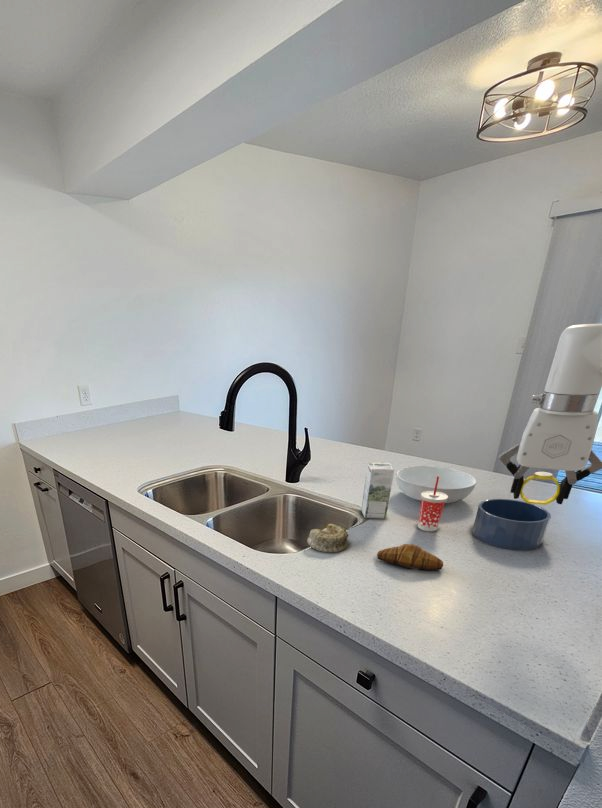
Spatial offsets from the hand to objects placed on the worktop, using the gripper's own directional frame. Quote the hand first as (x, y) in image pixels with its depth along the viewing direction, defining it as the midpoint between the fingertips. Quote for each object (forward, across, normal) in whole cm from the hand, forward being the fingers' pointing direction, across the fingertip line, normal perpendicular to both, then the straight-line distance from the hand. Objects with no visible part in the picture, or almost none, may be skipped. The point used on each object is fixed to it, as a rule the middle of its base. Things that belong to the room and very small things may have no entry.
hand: (536, 498), depth 84 cm
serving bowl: (+17, -20, +39) cm, 47 cm away
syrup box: (+17, -32, +20) cm, 41 cm away
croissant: (+17, -20, -5) cm, 27 cm away
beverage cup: (+17, -18, +17) cm, 30 cm away
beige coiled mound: (+17, -38, -2) cm, 42 cm away
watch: (+1, 0, 0) cm, 1 cm away
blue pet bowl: (+17, -1, +20) cm, 26 cm away
